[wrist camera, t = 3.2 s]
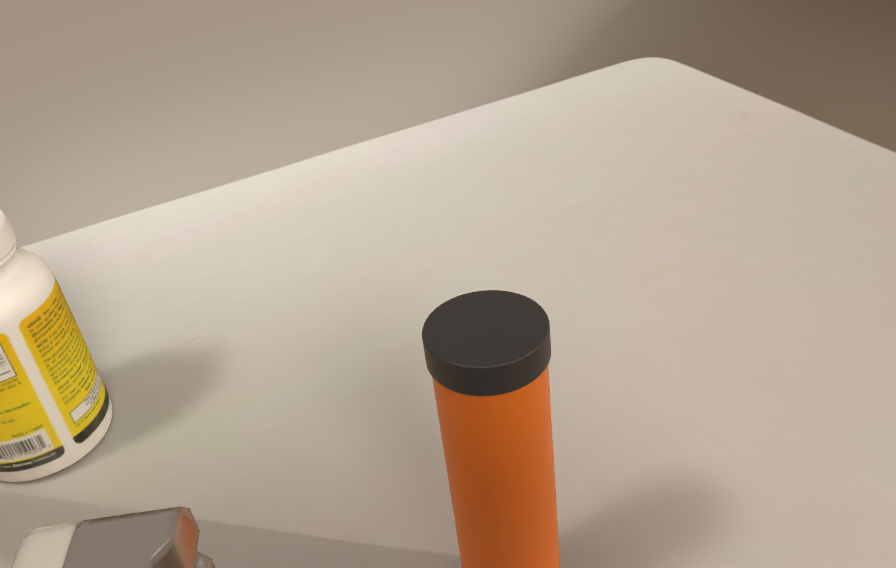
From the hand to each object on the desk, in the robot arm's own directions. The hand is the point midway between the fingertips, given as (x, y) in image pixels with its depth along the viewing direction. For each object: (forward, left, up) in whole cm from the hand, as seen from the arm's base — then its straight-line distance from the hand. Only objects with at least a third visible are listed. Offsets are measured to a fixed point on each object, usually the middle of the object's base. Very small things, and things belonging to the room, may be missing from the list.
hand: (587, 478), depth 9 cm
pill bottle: (+28, +15, -19) cm, 37 cm away
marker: (+12, -2, -19) cm, 22 cm away
